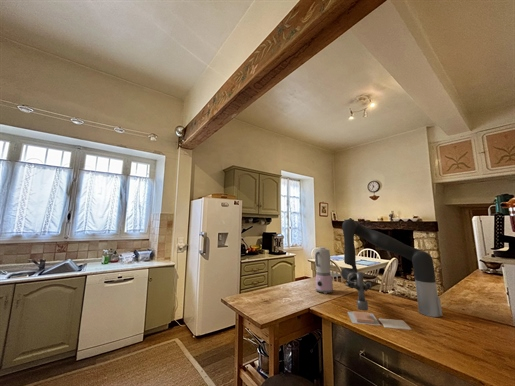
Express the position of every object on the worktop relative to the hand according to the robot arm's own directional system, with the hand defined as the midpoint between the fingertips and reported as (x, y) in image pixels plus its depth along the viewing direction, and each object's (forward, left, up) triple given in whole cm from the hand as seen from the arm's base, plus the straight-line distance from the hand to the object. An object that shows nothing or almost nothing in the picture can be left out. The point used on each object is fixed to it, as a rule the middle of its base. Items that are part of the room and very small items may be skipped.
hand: (362, 288), depth 106 cm
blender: (+17, -47, -17) cm, 53 cm away
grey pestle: (0, -3, -10) cm, 11 cm away
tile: (0, -9, -15) cm, 17 cm away
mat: (0, -5, -16) cm, 17 cm away
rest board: (-13, 0, -16) cm, 21 cm away
